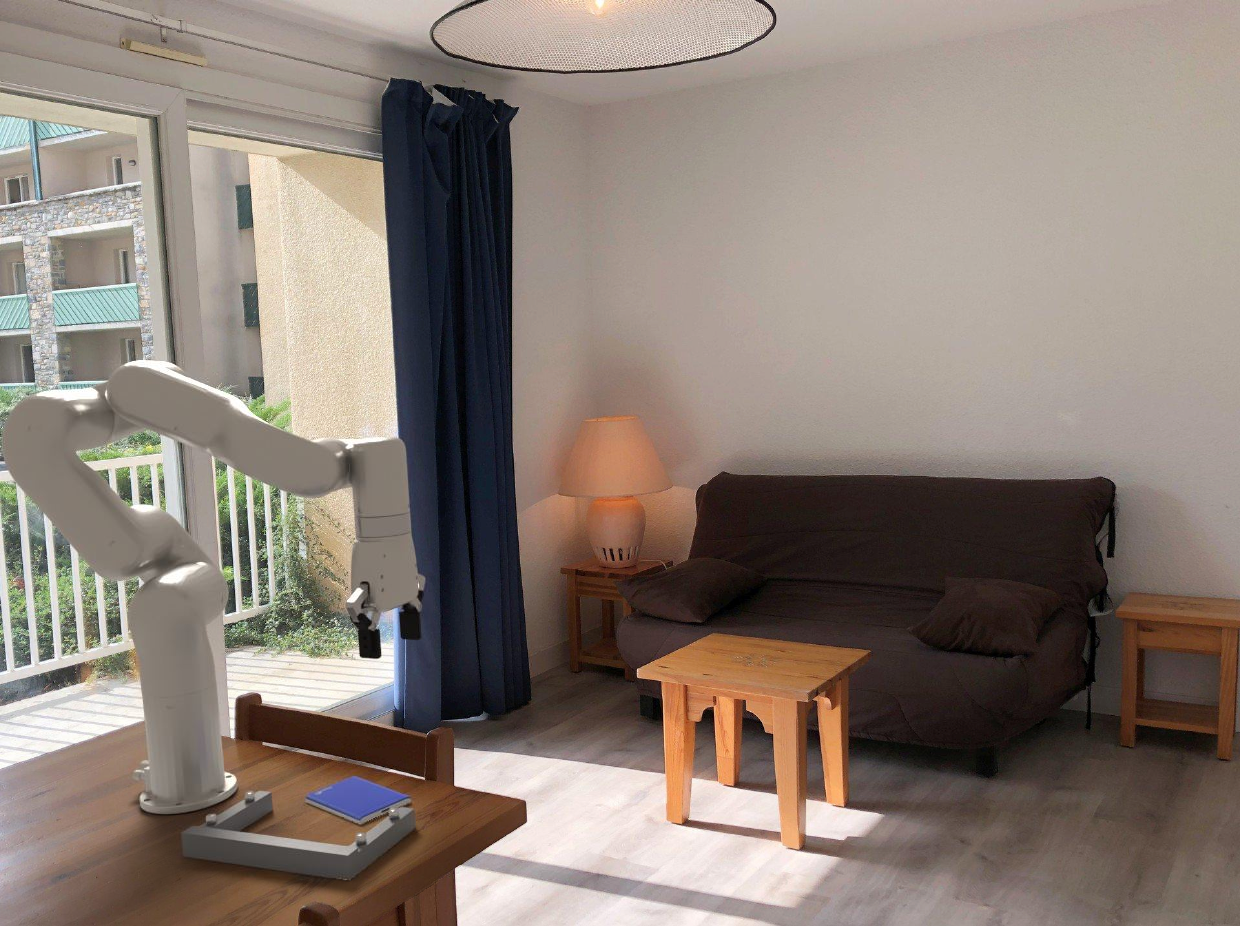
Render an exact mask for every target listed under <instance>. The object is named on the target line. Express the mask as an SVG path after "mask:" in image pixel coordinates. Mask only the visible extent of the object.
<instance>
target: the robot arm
mask: <svg viewBox="0 0 1240 926" xmlns="http://www.w3.org/2000/svg"><path fill="white" fill-rule="evenodd" d="M3 425H4V426H3V428H2V433H1V452H2V457H3V461H4V463H5V466H6V469H7V470H8V473H9V474H10V476H11V477H12V479H13V481H14V482H15V483H16V485H17V486H18V487H19V488H20V489H21V490H22V492H24V493H25V495H26V496H27V497H28V498H29V499H30V500H31V501H32V502H33V504H35V505H36V507H38V508H39V510H40V511H41V512H42V514H44V515H45V517H46V518H47V519H48V520H49V521H50V522H51V523H52V525H53V526H54V527H55V528H56V529H57V531H58V532H59V533H60V534H61V535H62V536H63V538H64V539H65V540H66V541H67V543H69V545H70V546H71V547H72V548H73V549H74V550H75V551H76V552H77V554H78V555H79V557H80V556H81V558H82V559H83V560H84V562H85V563H87V565H88V566H89V567H90V569H91V570H92V571H93V572H95V573H96V575H98V576H99V577H101V578H103V579H104V580H107V581H111V582H123V581H129V580H130V579H131V580H132V579H133V578H136V577H138V578H139V579H141V581H142V583H143V584H142V585H141V586H140V587H139V588H138V589H137V590H136V592H135V593H134V595H133V596H132V598H131V601H130V603H129V606H128V615H127V617H128V625H129V626H128V627H129V631H130V635H131V639H132V643H133V645H134V646H133V647H134V650H135V654H136V659H137V665H138V671H139V679H140V680H139V681H140V691H141V695H142V705H143V706H142V708H143V717H144V728H145V729H144V730H145V736H146V737H145V738H146V739H145V740H146V748H147V759H148V760H146V759H145V760H142V761H141V762H140V763H139V765H138V769H135V770H134V771H133V773H132V779H133V780H136V781H144V782H145V784H144V785H145V790H143V791H142V793H141V794H140V795H139V806H140V807H141V808H140V809H142V810H143V811H145V812H147V813H151V814H154V815H155V814H156V815H157V814H158V815H174V814H175V815H176V814H184V813H188V812H194V811H199V810H202V809H205V808H208V807H212V806H214V805H216V804H218V803H221V802H223V801H225V800H226V799H228V798H230V797H231V796H232V795H233V794H234V793H236V791H237V789H238V778H237V777H236V776H235V775H234V774H232V773H230V772H229V771H228V772H227V771H225V764H224V763H225V762H224V752H223V742H222V741H223V740H222V729H221V719H220V710H219V709H220V708H219V707H220V706H219V695H218V685H217V675H216V667H215V660H214V655H213V654H214V653H213V650H212V647H211V644H210V643H211V642H210V641H209V637H208V632H207V626H208V625H209V624H210V623H212V622H213V621H214V620H215V619H217V618H218V617H219V616H220V615H222V612H223V611H224V610H225V608H226V606H227V603H228V600H229V591H230V590H229V585H228V582H227V579H226V578H225V576H224V574H223V572H222V571H221V570H220V568H219V567H218V566H217V564H216V563H215V562H214V561H213V560H212V559H211V557H210V556H209V555H208V554H207V553H206V551H204V550H203V548H202V547H201V546H200V544H198V542H197V541H196V540H195V539H194V538H193V537H192V536H191V534H190V533H188V531H187V530H186V529H185V528H184V527H183V526H182V524H181V523H180V522H179V521H178V519H176V518H175V517H174V516H173V515H172V514H170V513H168V512H167V511H166V510H164V509H162V508H160V507H157V506H155V505H151V504H134V505H131V506H130V505H128V503H126V501H124V500H123V499H122V498H121V497H120V496H119V495H118V494H117V493H116V492H115V491H114V489H113V488H112V487H111V486H110V485H109V483H108V482H107V481H106V480H105V478H103V477H102V475H100V473H99V472H97V471H96V470H94V469H93V468H92V467H90V466H89V465H88V464H87V463H85V462H84V461H83V460H82V459H81V457H79V455H78V454H77V452H78V451H79V452H80V451H85V450H91V449H95V448H100V447H104V446H106V445H110V444H113V443H115V442H117V441H120V440H123V439H125V438H128V437H132V436H134V435H138V434H140V433H143V432H146V431H148V430H149V431H151V432H154V433H156V434H158V435H162V436H164V437H166V438H168V439H171V440H173V441H176V442H179V443H181V444H183V445H186V446H188V447H191V448H193V449H195V450H198V451H201V452H203V453H205V454H207V455H210V456H212V457H213V458H215V459H216V460H218V461H219V462H221V463H223V464H225V465H227V466H228V467H230V468H232V469H233V470H236V471H238V472H239V473H241V474H243V475H245V476H246V477H249V478H251V479H253V480H255V481H257V482H260V483H263V484H265V485H268V486H270V487H273V488H274V489H277V490H280V491H283V492H285V493H288V494H291V495H293V496H297V497H300V498H304V499H319V498H322V497H325V496H327V495H329V494H331V493H333V492H337V491H340V490H343V489H348V488H352V502H353V515H354V530H355V540H354V541H353V544H352V551H351V561H350V563H351V564H350V592H351V594H350V597H349V599H347V601H346V602H345V608H346V611H347V612H348V615H349V620H350V621H351V623H352V624H353V626H354V627H353V628H354V630H356V631H357V639H358V641H357V642H358V653H359V657H360V658H361V659H372V660H375V659H376V660H378V659H380V658H382V644H381V643H382V641H381V629H380V628H377V626H378V624H379V621H380V619H381V615H382V614H384V613H387V612H389V611H392V610H394V609H396V608H397V609H398V608H399V607H400V610H399V611H398V619H399V632H400V633H399V634H400V638H401V640H410V641H420V640H422V622H421V611H422V609H423V605H422V600H423V599H424V595H425V593H424V590H425V584H426V577H425V576H424V575H423V574H420V573H418V565H417V564H418V563H417V557H416V549H415V545H414V540H413V537H412V523H411V508H410V507H411V506H410V505H411V504H410V495H409V481H408V480H409V478H408V477H409V476H408V463H407V449H406V445H405V443H404V441H403V440H402V439H401V438H399V437H397V436H396V437H395V436H377V437H365V438H359V439H345V438H335V437H333V438H332V437H321V438H317V439H313V440H311V439H307V438H304V437H301V436H299V435H297V434H294V433H292V432H289V431H287V430H284V429H282V428H280V427H277V426H275V425H273V424H271V423H269V422H267V421H265V420H263V419H262V418H260V417H258V416H257V415H255V414H254V413H253V412H252V411H251V410H250V409H249V408H248V406H247V405H246V403H244V401H242V400H241V399H240V398H239V397H237V396H235V395H232V394H230V393H226V392H224V391H222V390H219V389H217V388H216V387H215V388H214V387H212V386H210V385H207V384H205V383H202V382H199V381H197V380H195V379H192V378H191V377H190V376H189V375H188V373H186V371H185V370H183V369H182V368H180V367H179V366H178V365H176V364H173V363H171V362H166V361H161V360H160V361H159V360H157V361H156V360H155V361H154V360H133V361H130V362H129V361H128V362H127V363H124V364H122V365H121V366H119V367H118V368H117V369H115V370H114V371H113V372H112V373H111V375H110V376H109V378H108V380H107V381H104V382H102V383H98V384H95V385H92V386H90V387H86V388H82V389H55V390H53V389H52V390H44V391H40V392H36V393H33V394H31V395H29V396H26V397H25V398H23V399H22V400H20V401H19V402H18V403H17V404H16V405H15V406H14V407H13V408H12V410H11V411H10V412H9V413H8V416H7V417H6V420H5V422H4V424H3ZM368 615H371V616H370V618H369V617H368Z"/></svg>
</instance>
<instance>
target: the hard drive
mask: <svg viewBox="0 0 1240 926" xmlns="http://www.w3.org/2000/svg"><path fill="white" fill-rule="evenodd" d="M410 802H411V803H412V799H411V796H410V795H407V794H404V793H401V792H398V791H396V790H394V789H390V788H387V787H385V786H382V785H381V784H380V785H379V784H377V783H375V782H372V781H370V780H366V779H364V778H361V777H359V776H357V775H356V776H350V777H349V778H345V779H343V780H341V781H338V782H336V783H333V784H330V785H328V786H326V787H323V788H320V789H318V790H315V791H313V792H310V793H308V794H307V795H306V796H305V803H307V804H309V805H312V806H314V807H316V808H318V809H321V810H323V811H326V812H328V813H330V812H331V814H333V815H335V816H338V817H340V818H342V817H344V818H343V819H345V820H348V821H349V822H352V821H353V823H355V824H357V823H358V825H359V826H360V825H363V824H365V822H366V823H367V821H368V822H370V821H372V820H374V819H373V818H375V817H377V818H379V817H381V816H380V815H382V816H384V815H386V814H387V813H386V812H388V813H389V810H390V809H392V808H398V809H399V807H400V806H402V807H404V806H406V804H407V803H409V804H411V803H410ZM403 805H404V806H403ZM407 805H408V804H407ZM385 813H386V814H385ZM383 814H384V815H383ZM378 816H379V817H378ZM371 819H372V820H371ZM375 819H376V818H375ZM369 820H370V821H369Z"/></svg>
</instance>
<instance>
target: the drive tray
mask: <svg viewBox="0 0 1240 926" xmlns="http://www.w3.org/2000/svg"><path fill="white" fill-rule="evenodd" d="M272 794H273V793H272V791H267V790H265V791H264V790H258V791H256V792H254V791H252V790H250V791H246V792H245V793H244V799H243V800H241V801H240V802H238V803H236V804H234V805H233V806H230V807H229V808H227V809H225V810H224V811H223V812H220V813H219V814H216V813H209V814H207V815H206V816H205V822H203V823H202V824H200V825H191V826H190V827H187V829H185V830H183V831H182V832H180V836H181V845H182V847H181V848H182V857H184V858H192V859H198V860H204V861H211V862H212V861H213V862H219V863H226V864H233V865H238V866H239V865H240V866H245V867H251V868H252V867H253V868H259V869H265V870H273V871H280V872H287V873H293V874H301V875H306V876H307V875H308V876H312V877H313V876H314V877H320V876H321V877H320V878H328V879H333V878H338V879H337V880H340V878H341V879H347V880H350V879H352V878H353V879H354V878H355V877H357V876H358V875H359V874H360V873H362V872H361V871H362V870H363V869H364V868H365V869H366V867H367V868H368V867H369V866H370V865H372V864H373V863H374V862H375V861H377V860H378V859H379V858H380V857H382V856H383V855H384V854H385V853H386V852H388V851H389V850H390V849H392V848H393V845H394V844H395V845H397V843H399V842H400V841H401V840H402V839H403V837H404V836H405V837H406V836H407V835H409V834H410V833H411V832H412V831H413V830H415V829H416V828H415V827H416V815H415V814H416V813H415V808H412V807H406V806H402V807H400V808H392V809H390V810H389V812H388V816H387V817H385V818H384V819H383V820H382V821H380V822H379V823H377V824H376V825H375V826H374V827H372V828H371V829H369V830H368V831H367V832H358V833H356V834H355V835H354V836H355V840H354V841H353V843H351V844H350V845H341V844H334V843H325V842H318V841H313V840H304V839H298V838H297V839H296V838H288V837H281V836H274V835H268V834H258V833H252V832H244V831H242V830H244V829H245V828H247V827H249V826H250V825H252V824H253V823H256V822H257V821H258V820H259V819H261V818H263V817H264V816H266V815H268V814H269V813H270V812H272V811H273V810H274V809H273V797H272V796H273V795H272ZM414 828H415V829H414ZM411 830H412V831H411ZM405 837H404V838H405ZM395 845H394V846H395ZM388 849H389V850H388ZM383 853H384V854H383ZM382 854H383V855H382ZM379 856H380V857H379ZM378 857H379V858H378ZM377 858H378V859H377ZM374 860H375V861H374ZM373 861H374V862H373ZM372 862H373V863H372ZM368 865H369V866H368ZM365 869H364V870H365ZM364 870H363V871H364ZM359 872H360V873H359ZM358 873H359V874H358ZM357 874H358V875H357ZM356 875H357V876H356ZM353 879H352V880H353ZM350 881H351V880H350Z"/></svg>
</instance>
